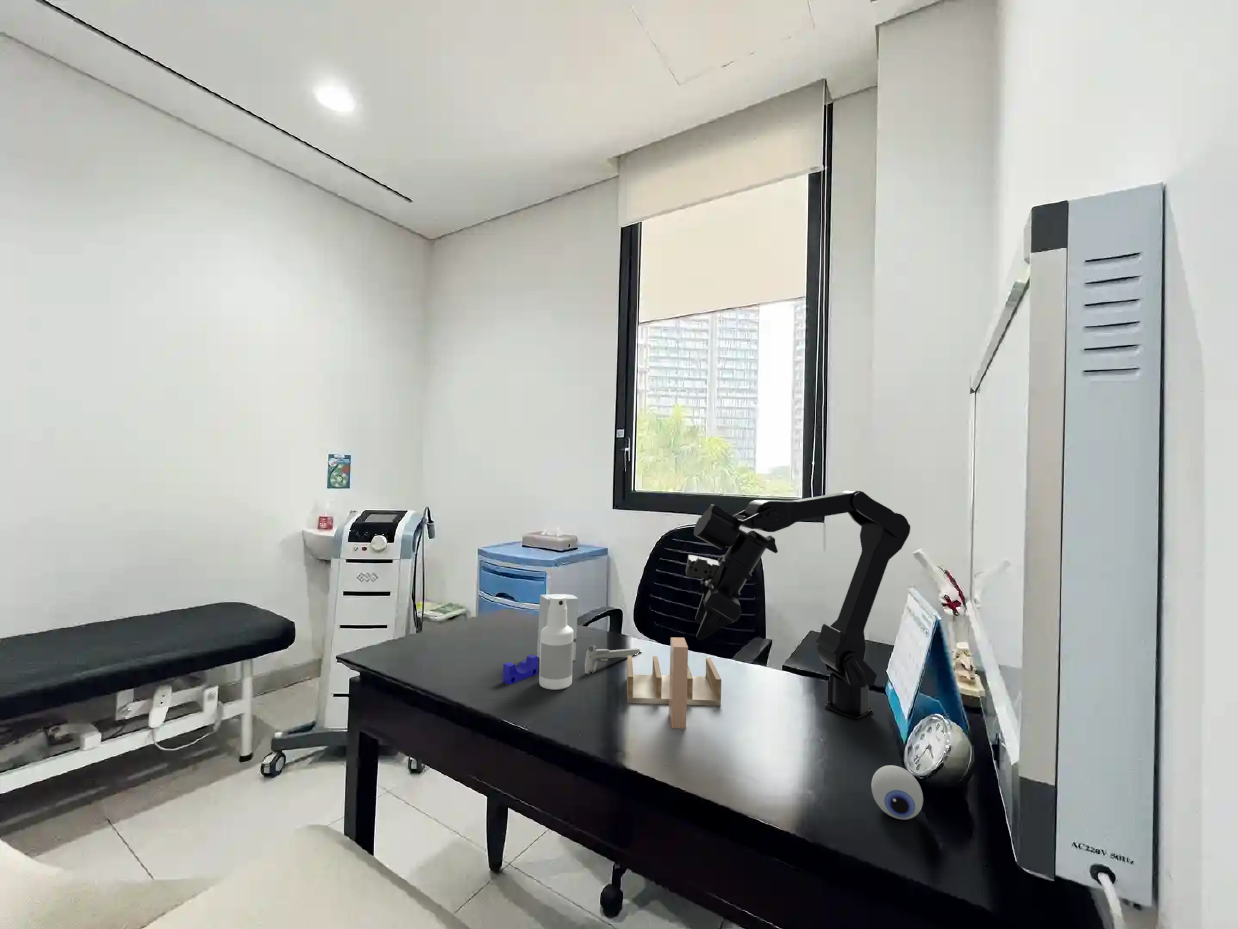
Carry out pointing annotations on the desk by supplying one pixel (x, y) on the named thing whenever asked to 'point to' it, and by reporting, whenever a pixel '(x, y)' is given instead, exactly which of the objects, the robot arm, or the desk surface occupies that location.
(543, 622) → the skincare box
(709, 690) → the rack
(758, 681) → the desk surface
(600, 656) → the caliper
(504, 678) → the cable holder
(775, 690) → the desk surface
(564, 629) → the spray bottle
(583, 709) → the desk surface
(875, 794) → the eyeball
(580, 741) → the desk surface
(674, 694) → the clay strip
